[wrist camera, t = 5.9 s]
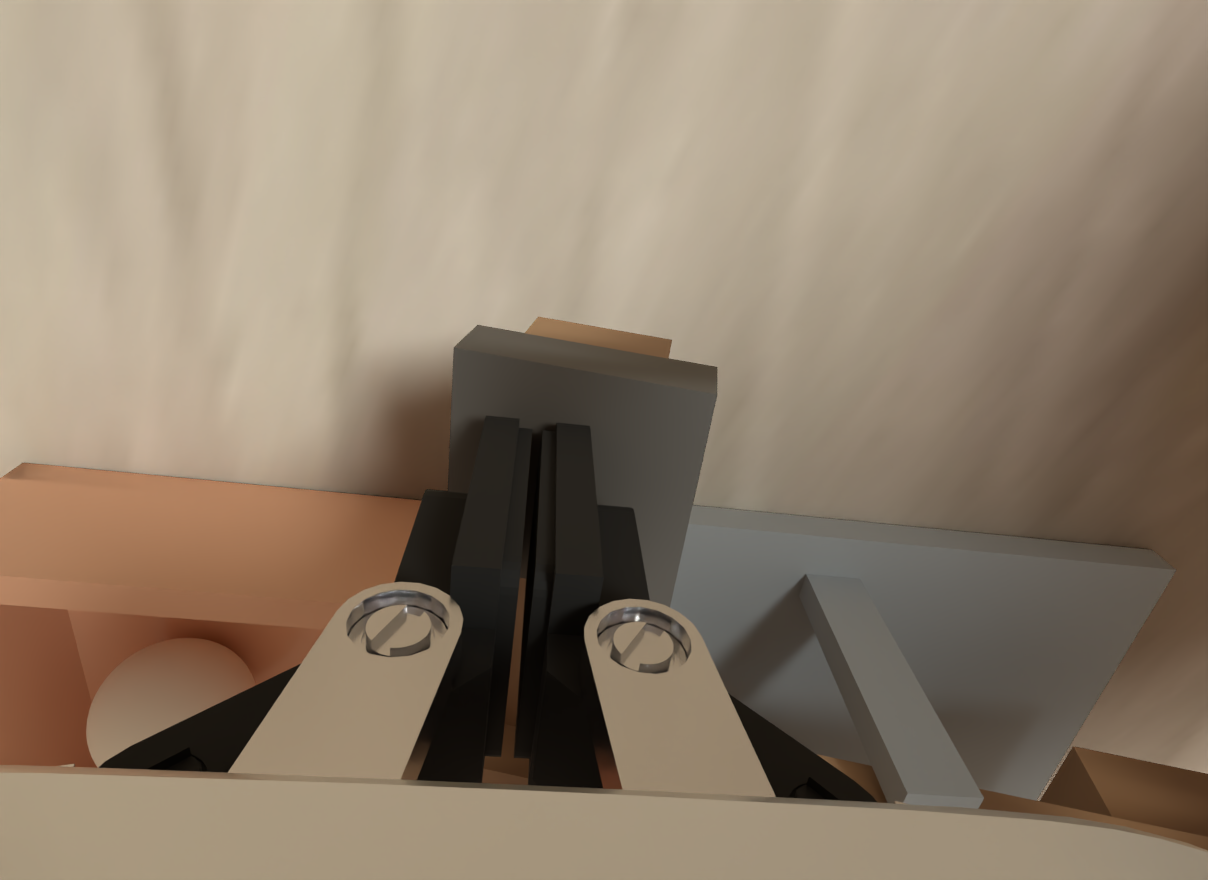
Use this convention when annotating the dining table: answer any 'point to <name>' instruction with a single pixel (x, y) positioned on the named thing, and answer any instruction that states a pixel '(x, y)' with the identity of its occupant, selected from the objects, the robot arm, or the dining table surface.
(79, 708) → the pink hollow square tray
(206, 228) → the dining table surface
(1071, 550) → the stand
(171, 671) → the ball
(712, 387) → the lever
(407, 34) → the dining table surface
